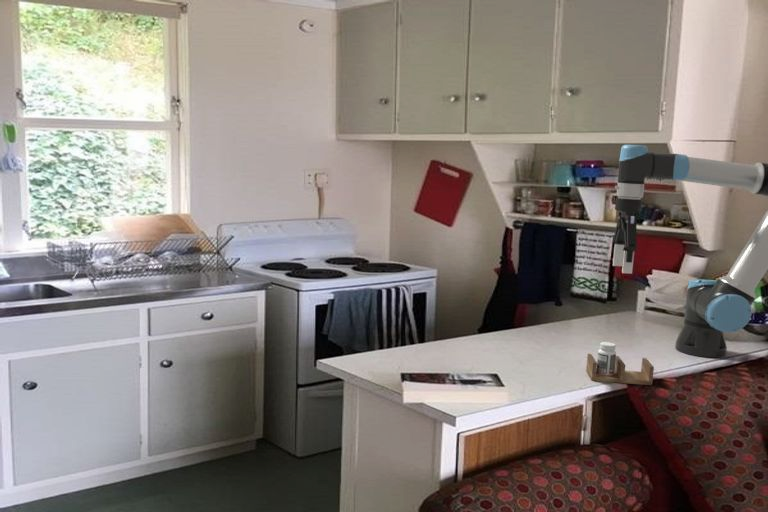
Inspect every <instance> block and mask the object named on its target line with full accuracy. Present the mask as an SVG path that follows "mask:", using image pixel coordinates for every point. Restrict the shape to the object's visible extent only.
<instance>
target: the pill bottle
mask: <svg viewBox="0 0 768 512" xmlns="http://www.w3.org/2000/svg"><path fill="white" fill-rule="evenodd" d="M616 356H617V352H616V343H612V342H609V341H602V342H600V344H599V349H598V351H597V361H596V362H597V373H598V374H601V375H607V376H611V375H613V374H614V370H615V359H616Z"/></svg>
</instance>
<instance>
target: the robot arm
mask: <svg viewBox="0 0 768 512" xmlns="http://www.w3.org/2000/svg"><path fill="white" fill-rule="evenodd" d="M617 178H618V179H617V185H615V186H614V189H615V190H616V196H617V197H616V198H615V203H614V210H616V212H617V211H618V213H617V215H618V217H617V222H616V226H615V232H614V236H613V241H614V247H613V261H612V266H613V267H622V268H621V273H622V274H632V275H633V269H634V259H635V251H637V249H638V244H637V241H638V239H637V223H638V221H637V220H638V217H637V216H635V213H642V209H643V200H642V198H644V194H645V193H644V192H645V180H646V179H654V180H656V179H657V180H665V181H666V180H669V181H680V182H688V183H696V184H703V185H704V184H705V185H711V186H719V187H726V188H732V189H733V188H734V189H740V190H748V191H749V192H750V194H753V195H760V196H764V197H768V163H765V162H756V163H755V164H747V163H740V162H732V161H725V160H717V159H716V160H715V159H710V158H709V159H708V158H701V157H693V156H687V155H686V154H681V153H680V154H679V153H666V152H665V153H664V152H655V151H649V148H648V146H647V145H641V144H623V145H622V146H621V148H620V154H619V160H618V174H617ZM767 270H768V209H767V211H766V212H765V213H764V215H763V217H762V218H761V220H760V221H759V223H758V225H757V226H756V228H755V230H754V231H753V232H752V234H751V236H750V237H749V239H748V241H747V242H746V244H745V246H744V247H743V248H742V250H741V252H740V253H739V255H738V256H737V258H736V260H735V261H734V263H733V265H732V266H731V268H730V270H729V271H728V272H727V274H726V275H725V276H720V277H718V279H717V280H715V279H702V278H701V279H699V278H697V279H696V278H692V279H690V280H689V281H688V286H687V289H686V292H687V293H686V301H685V310H684V319H683V325H682V327H681V330H680V332H679V334H678V336H677V338H676V339H675V347H674V348H675V350H676V351H679V352H681V353H684V354H688V355H690V356H696V357H705V358H723V357H725V355H726V356H727V351H728V345H727V341H726V337H725V333H735V332H737V331H740V330H741V329H743V328H744V327H746V325H748V323H749V322H750V321H751V317H752V312H753V311H752V305H753V303H754V302H755V300H756V298H757V297H756V293H755V289H756V288H757V286H758V284H759V283H760V281H761V280H762V279H763V277H764V276H765V274H766V272H768V271H767Z"/></svg>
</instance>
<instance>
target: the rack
mask: <svg viewBox="0 0 768 512" xmlns="http://www.w3.org/2000/svg"><path fill="white" fill-rule="evenodd" d="M585 371H586V373H587V375H588V377H589V379H590V381H592V382H593V381H594V382H603V383H619V384H628V385H629V384H631V385H645V386H653V382H654V381H653V380H654V371H655V367H654V365H653V364H652V363H651V362H650V361H649V360H648V359H647V358H646V357H642V358H641V368H640V371H635V370H626V363H624V361H623V359H622V358H621V357H620V356H619V355H616V359H615V370H614V374H613V375H611V376H607V375H601V374H598V373H597V361H596V359H595V357H594V356H593V354H591V353H587V357H586V369H585Z"/></svg>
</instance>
